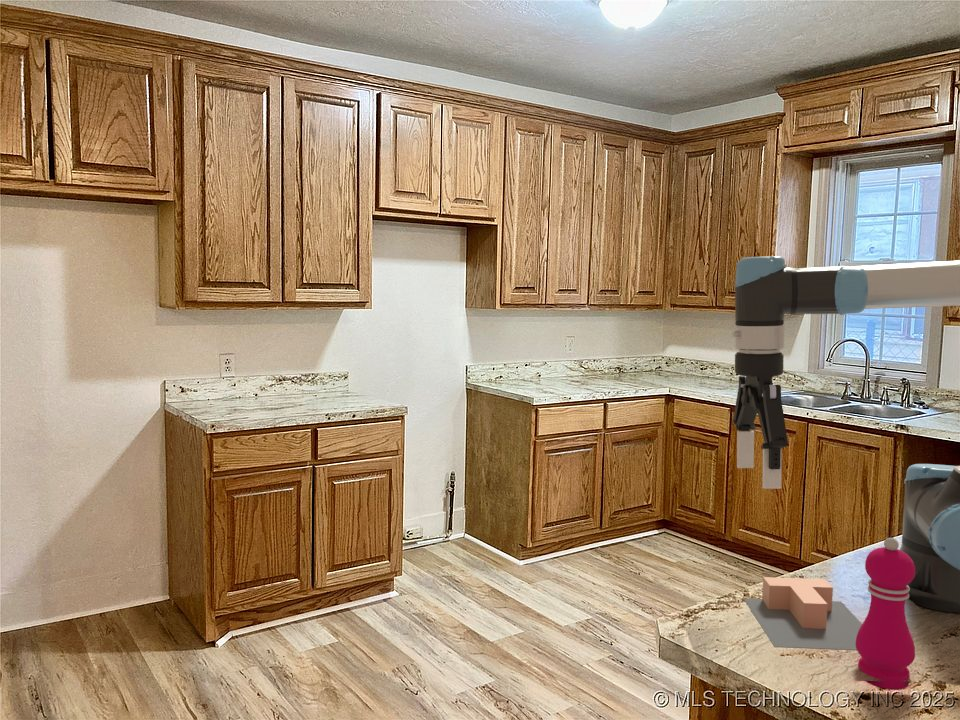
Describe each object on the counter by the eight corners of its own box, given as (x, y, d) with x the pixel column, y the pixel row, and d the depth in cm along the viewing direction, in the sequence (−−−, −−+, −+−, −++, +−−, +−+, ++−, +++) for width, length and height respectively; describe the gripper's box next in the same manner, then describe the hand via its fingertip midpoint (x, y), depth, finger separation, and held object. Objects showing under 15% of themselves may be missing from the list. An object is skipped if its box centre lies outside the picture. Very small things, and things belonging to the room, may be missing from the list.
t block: (823, 602, 126) (824, 579, 125) (848, 629, 116) (849, 604, 115) (762, 600, 126) (763, 577, 126) (781, 627, 116) (782, 602, 116)
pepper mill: (888, 696, 99) (897, 550, 97) (842, 670, 106) (849, 533, 104) (925, 685, 102) (935, 542, 100) (878, 660, 109) (886, 526, 106)
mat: (840, 608, 126) (840, 601, 126) (887, 658, 109) (887, 651, 109) (742, 604, 127) (743, 598, 127) (774, 654, 110) (774, 646, 110)
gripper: (715, 345, 136) (715, 460, 138) (760, 358, 111) (759, 498, 113) (757, 344, 136) (756, 459, 138) (812, 357, 111) (810, 497, 113)
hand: (757, 477), depth 126 cm, fingers open, 13 cm apart
